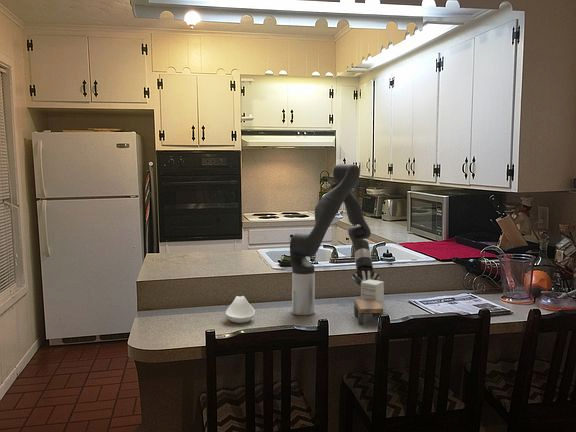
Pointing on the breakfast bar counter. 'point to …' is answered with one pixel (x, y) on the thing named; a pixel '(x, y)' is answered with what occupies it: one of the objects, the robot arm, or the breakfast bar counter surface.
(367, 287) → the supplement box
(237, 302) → the white conical piece
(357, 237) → the robot arm
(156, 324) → the breakfast bar counter surface
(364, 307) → the brown block with legs
